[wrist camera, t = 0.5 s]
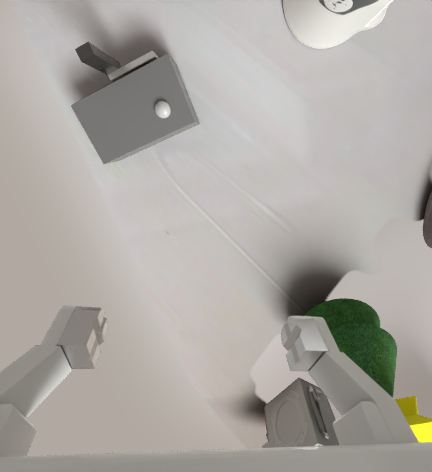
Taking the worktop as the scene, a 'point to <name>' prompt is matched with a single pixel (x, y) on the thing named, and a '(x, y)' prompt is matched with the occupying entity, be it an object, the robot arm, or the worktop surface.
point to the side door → (111, 61)
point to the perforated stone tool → (428, 222)
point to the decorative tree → (370, 351)
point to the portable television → (300, 418)
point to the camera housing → (137, 111)
